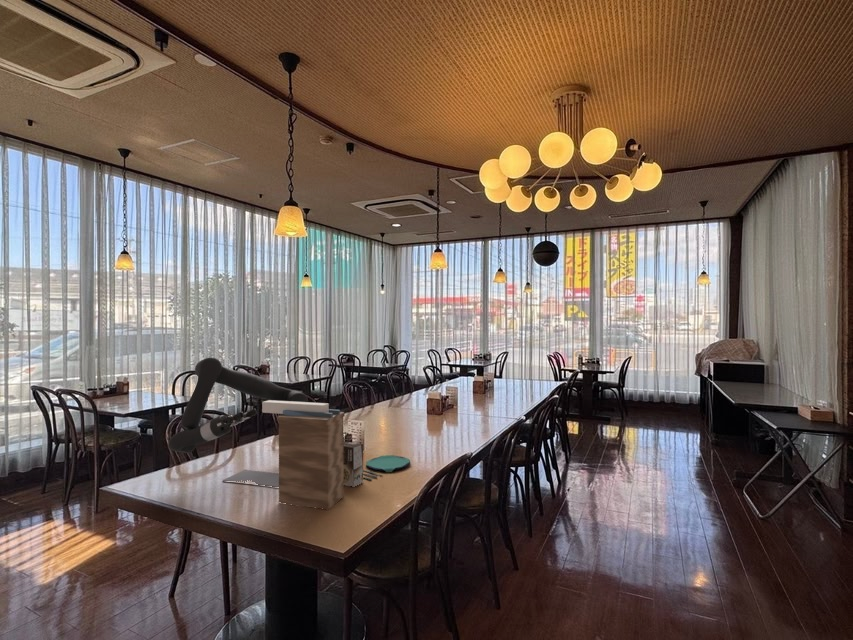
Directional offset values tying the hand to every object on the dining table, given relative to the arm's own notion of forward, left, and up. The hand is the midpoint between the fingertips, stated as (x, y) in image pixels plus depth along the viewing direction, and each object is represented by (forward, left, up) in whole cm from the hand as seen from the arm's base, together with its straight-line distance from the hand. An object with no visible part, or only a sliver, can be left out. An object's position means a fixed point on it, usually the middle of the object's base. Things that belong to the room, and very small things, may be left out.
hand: (249, 412), depth 175 cm
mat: (-13, -3, -31) cm, 34 cm away
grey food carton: (-19, +34, -31) cm, 50 cm away
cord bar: (+1, +21, +1) cm, 21 cm away
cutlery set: (-40, +39, -32) cm, 64 cm away
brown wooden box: (+1, +28, -31) cm, 42 cm away
